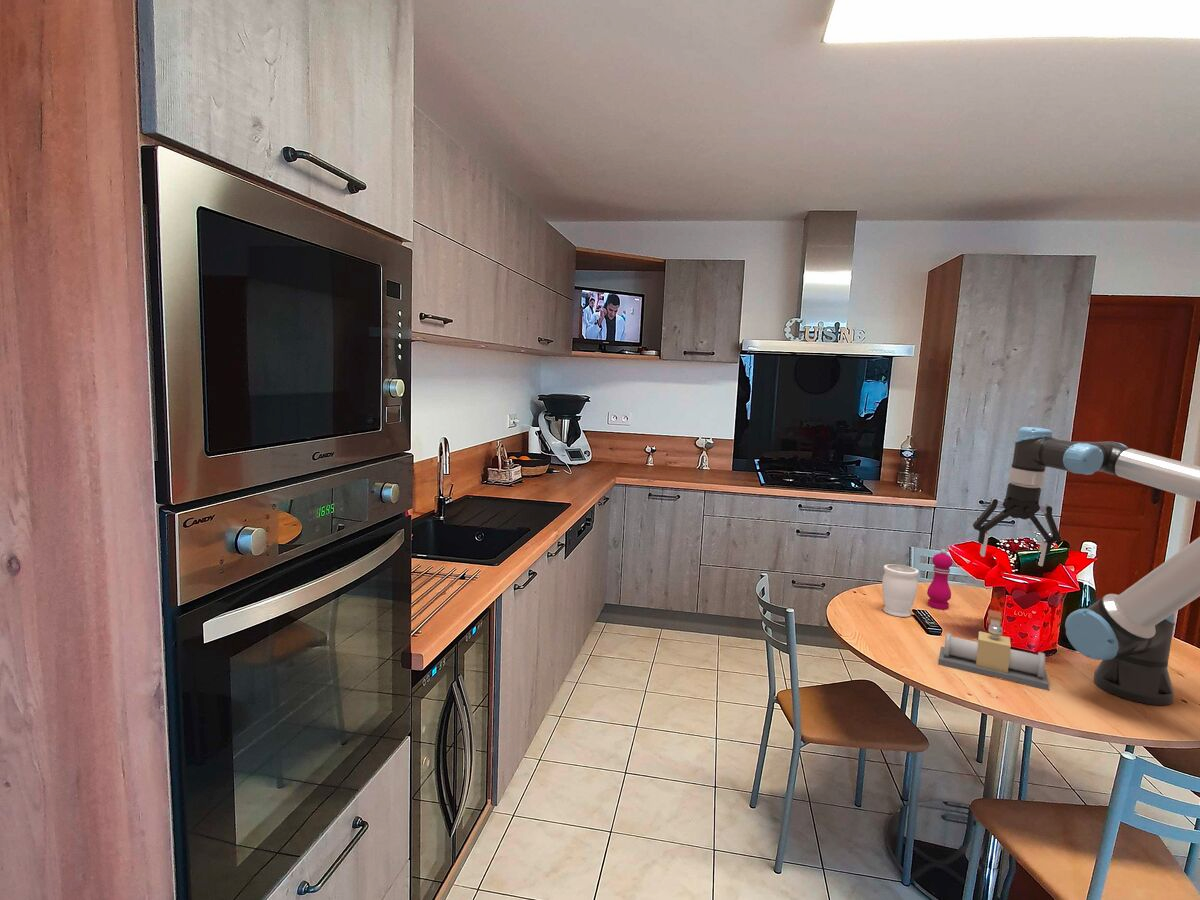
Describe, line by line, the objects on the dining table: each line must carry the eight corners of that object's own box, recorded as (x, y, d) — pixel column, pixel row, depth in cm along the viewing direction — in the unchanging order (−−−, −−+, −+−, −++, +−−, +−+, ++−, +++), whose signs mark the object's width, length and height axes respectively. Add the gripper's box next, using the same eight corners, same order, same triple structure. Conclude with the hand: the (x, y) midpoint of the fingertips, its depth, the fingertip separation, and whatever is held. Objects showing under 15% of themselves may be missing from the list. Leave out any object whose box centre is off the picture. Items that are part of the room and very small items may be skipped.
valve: (1044, 675, 163) (1049, 638, 162) (1048, 690, 154) (1052, 652, 153) (940, 651, 175) (943, 617, 174) (938, 664, 166) (941, 628, 166)
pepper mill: (954, 610, 209) (960, 552, 207) (932, 609, 210) (938, 551, 208) (942, 603, 217) (948, 546, 215) (921, 602, 217) (927, 546, 215)
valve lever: (1001, 636, 162) (1002, 629, 161) (988, 633, 163) (989, 626, 163) (1000, 618, 175) (1001, 612, 174) (987, 616, 176) (988, 609, 176)
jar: (915, 621, 198) (919, 575, 197) (879, 614, 203) (883, 569, 201) (913, 610, 208) (918, 566, 206) (879, 605, 212) (883, 561, 211)
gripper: (1076, 488, 167) (1060, 564, 170) (969, 475, 176) (957, 547, 179) (1085, 494, 160) (1069, 573, 164) (974, 480, 169) (961, 555, 173)
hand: (1010, 560), depth 172 cm, fingers open, 13 cm apart
